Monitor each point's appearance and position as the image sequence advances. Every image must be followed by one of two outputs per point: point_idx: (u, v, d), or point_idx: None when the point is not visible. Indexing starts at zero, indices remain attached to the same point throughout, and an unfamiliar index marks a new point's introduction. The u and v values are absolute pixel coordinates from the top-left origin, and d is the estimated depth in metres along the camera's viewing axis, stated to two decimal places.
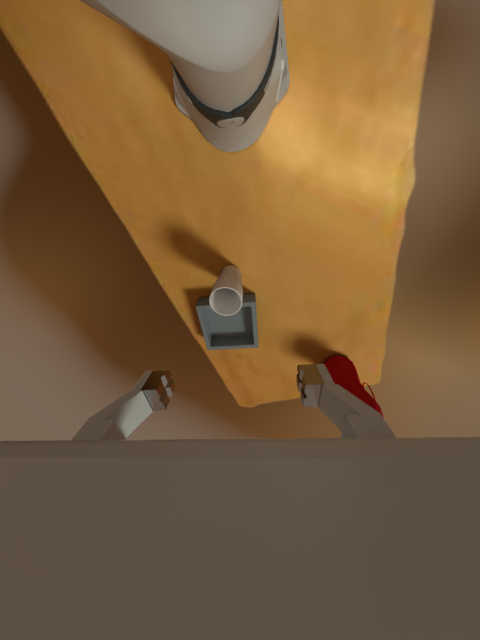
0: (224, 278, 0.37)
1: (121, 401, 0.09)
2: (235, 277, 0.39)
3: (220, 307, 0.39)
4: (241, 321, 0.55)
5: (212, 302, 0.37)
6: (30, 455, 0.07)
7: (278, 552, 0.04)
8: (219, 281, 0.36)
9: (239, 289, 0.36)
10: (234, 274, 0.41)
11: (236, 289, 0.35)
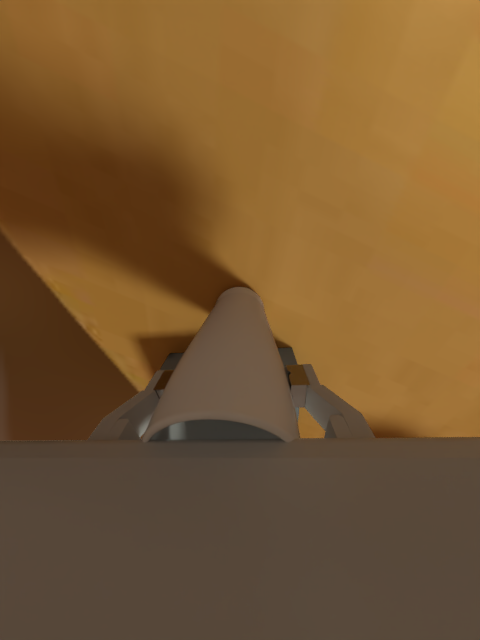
0: (219, 340, 0.09)
1: (135, 401, 0.09)
2: (259, 329, 0.11)
3: (204, 434, 0.11)
4: None
5: (168, 437, 0.09)
6: (30, 455, 0.07)
7: (278, 552, 0.04)
8: (197, 356, 0.09)
9: (287, 400, 0.08)
10: (253, 316, 0.13)
11: (279, 416, 0.07)
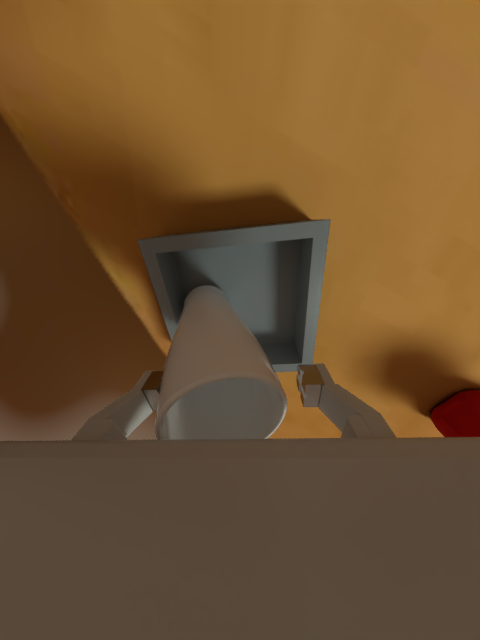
0: (211, 326, 0.11)
1: (121, 401, 0.09)
2: (237, 318, 0.13)
3: (195, 415, 0.12)
4: (268, 304, 0.22)
5: (169, 418, 0.10)
6: (30, 455, 0.07)
7: (278, 552, 0.04)
8: (195, 340, 0.10)
9: (271, 365, 0.10)
10: (229, 308, 0.15)
11: (270, 373, 0.09)
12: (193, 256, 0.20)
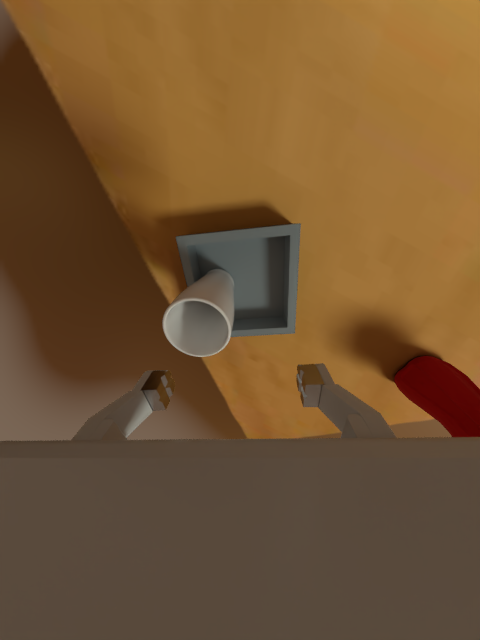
0: (200, 283, 0.19)
1: (121, 401, 0.09)
2: (223, 285, 0.21)
3: (189, 337, 0.21)
4: (263, 285, 0.30)
5: (172, 327, 0.19)
6: (30, 455, 0.07)
7: (278, 552, 0.04)
8: (189, 288, 0.18)
9: (227, 306, 0.18)
10: (222, 280, 0.23)
11: (220, 306, 0.17)
12: (209, 249, 0.28)
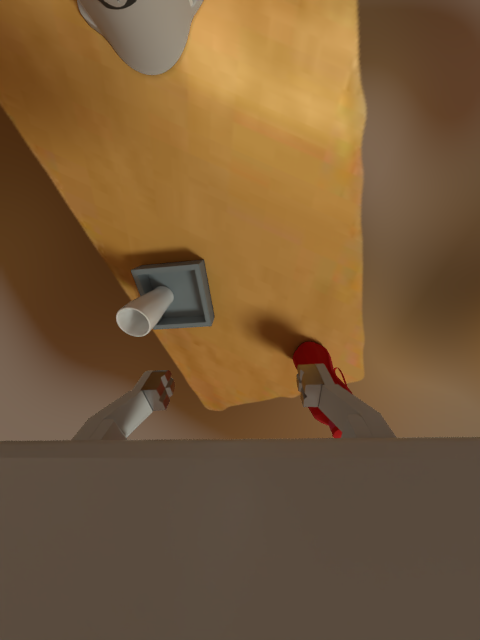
0: (138, 298, 0.37)
1: (121, 401, 0.09)
2: (154, 298, 0.39)
3: (135, 326, 0.39)
4: (192, 295, 0.48)
5: (123, 321, 0.37)
6: (30, 455, 0.07)
7: (278, 552, 0.04)
8: (131, 301, 0.36)
9: (149, 311, 0.36)
10: (156, 295, 0.41)
11: (143, 311, 0.34)
12: (155, 274, 0.46)
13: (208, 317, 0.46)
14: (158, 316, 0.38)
